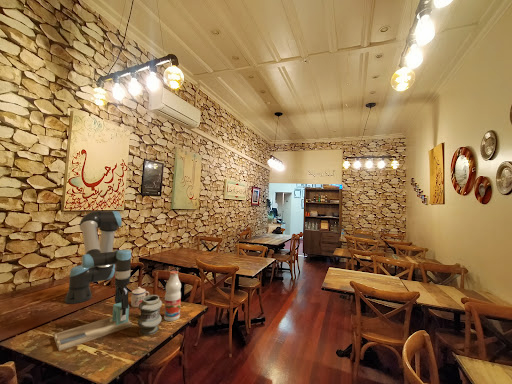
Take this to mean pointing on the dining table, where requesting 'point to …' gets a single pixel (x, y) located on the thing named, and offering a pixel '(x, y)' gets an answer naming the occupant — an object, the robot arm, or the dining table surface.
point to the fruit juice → (172, 298)
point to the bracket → (117, 314)
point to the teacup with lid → (138, 296)
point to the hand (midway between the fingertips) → (120, 317)
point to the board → (87, 332)
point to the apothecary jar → (149, 315)
